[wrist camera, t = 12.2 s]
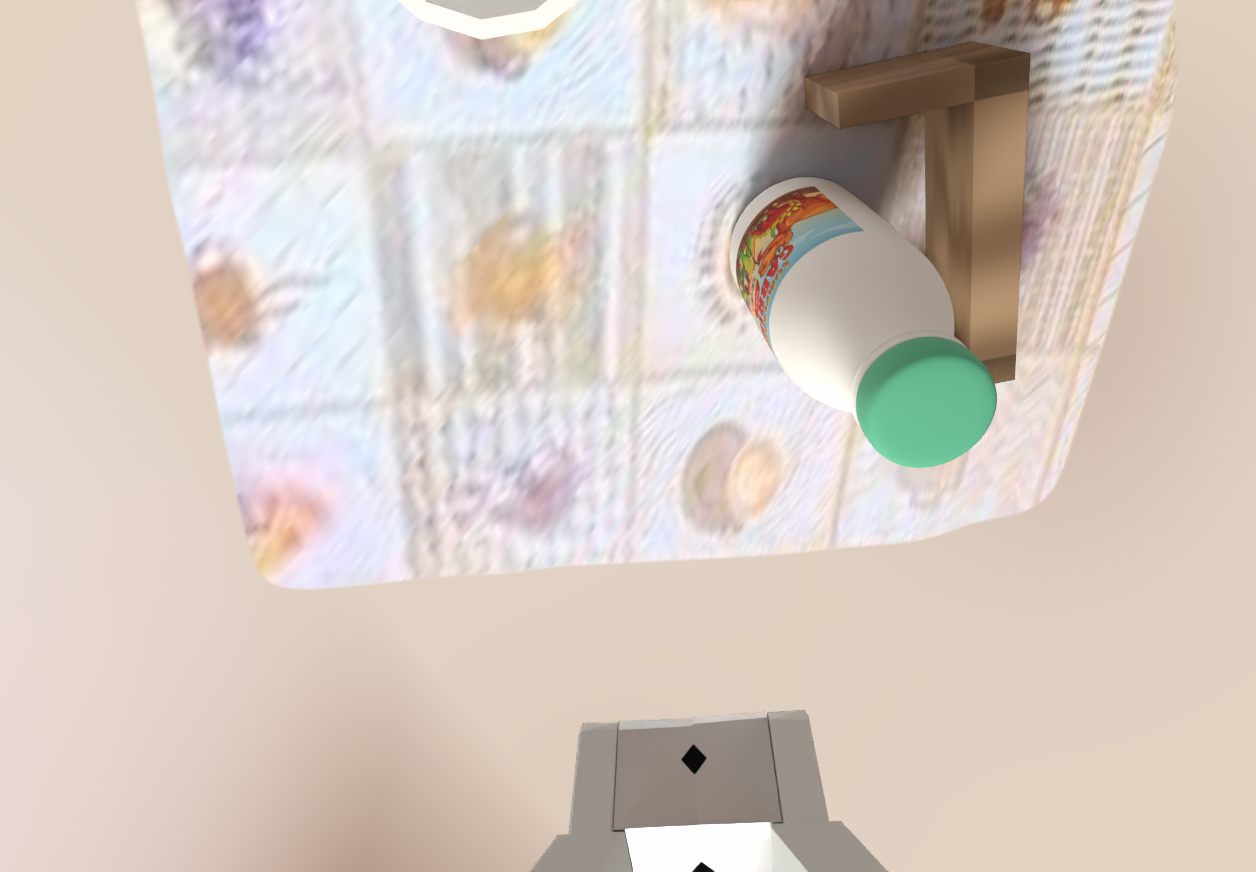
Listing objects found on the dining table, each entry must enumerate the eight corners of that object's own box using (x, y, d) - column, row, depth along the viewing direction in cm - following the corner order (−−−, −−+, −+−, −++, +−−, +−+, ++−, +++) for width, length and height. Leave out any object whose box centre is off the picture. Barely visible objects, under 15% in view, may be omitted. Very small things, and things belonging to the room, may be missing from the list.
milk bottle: (855, 154, 44) (1043, 278, 26) (875, 289, 48) (1051, 476, 30) (712, 198, 44) (804, 347, 27) (743, 328, 48) (841, 532, 31)
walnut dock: (804, 77, 42) (837, 94, 37) (972, 41, 41) (1030, 53, 36) (826, 363, 50) (856, 410, 44) (967, 335, 49) (1014, 379, 44)
